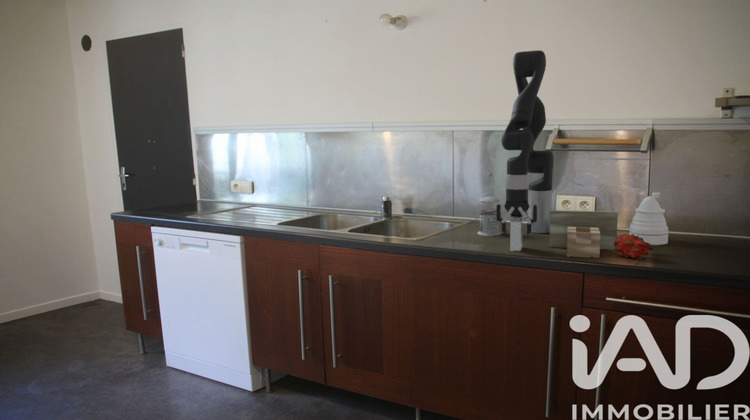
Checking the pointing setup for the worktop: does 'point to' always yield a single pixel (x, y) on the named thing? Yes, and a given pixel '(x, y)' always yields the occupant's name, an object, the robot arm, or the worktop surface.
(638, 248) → the dragon fruit
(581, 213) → the small shelf
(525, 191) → the robot arm
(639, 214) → the honey pot
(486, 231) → the french press
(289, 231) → the worktop surface
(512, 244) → the brushed steel bar
